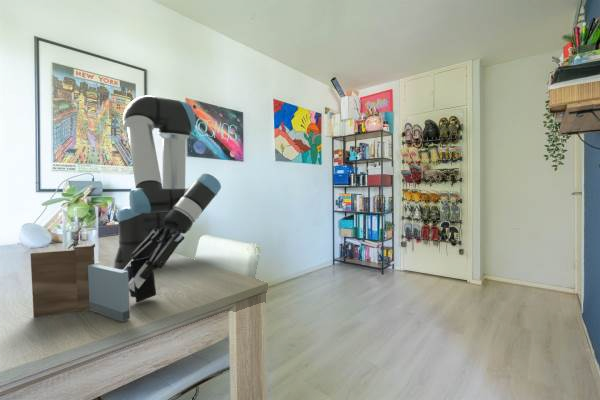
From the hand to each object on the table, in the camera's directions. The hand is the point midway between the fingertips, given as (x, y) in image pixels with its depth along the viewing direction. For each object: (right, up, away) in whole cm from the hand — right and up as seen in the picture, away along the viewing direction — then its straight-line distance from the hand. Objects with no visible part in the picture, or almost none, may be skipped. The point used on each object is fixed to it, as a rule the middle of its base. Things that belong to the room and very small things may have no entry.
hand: (124, 286), depth 70 cm
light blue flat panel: (-1, -5, -5) cm, 7 cm away
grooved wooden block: (-13, -5, -2) cm, 14 cm away
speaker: (+3, -3, +3) cm, 5 cm away
